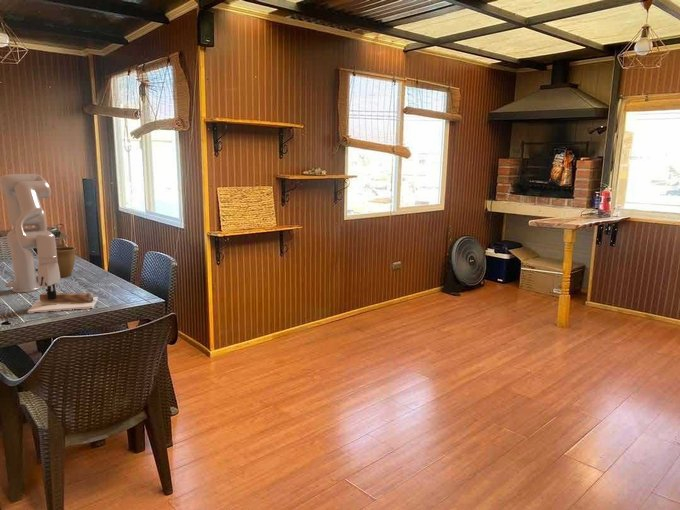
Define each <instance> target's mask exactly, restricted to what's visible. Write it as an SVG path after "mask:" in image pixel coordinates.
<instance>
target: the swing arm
mask: <svg viewBox="0 0 680 510" xmlns="http://www.w3.org/2000/svg"><path fill="white" fill-rule="evenodd" d="M56 297H57V298H56V299H54V300H49V299H48V296H47V292H43V293H41V294H39V301H93V297H94V294H93V292H87V293H86V292H85V293H84V292H83V293H82V292H76V293H75V292H70V293H69V292H67V293H66V292H56Z"/></svg>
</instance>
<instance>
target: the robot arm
mask: <svg viewBox="0 0 680 510" xmlns="http://www.w3.org/2000/svg"><path fill="white" fill-rule="evenodd" d="M0 189H1V191H2V193H3V196H4V197H5V199H6V208H7V217H8V222H9V225H10V226H12V227H14V229H12V230H10V231H9V232H8V233H7V234H6V239H7V243H8V245H9V249H10V255H11V261H12V269H13V279H14V281H12V282H5V287H6V288H12V289H11V291H12V292H13V293H31V292H35V291H39V290H40V289H41V290H45V291H46V293H47V296H48V299H49V300H54V299H56V298H57V297H56V293H57V286H58V285H59V284H60V282H61V277H60V271H59V266H58V260H57V251H56V248H57V243H56V236H55V234H54V233H52V232H51V231H49V230H48V227H47V219H46V218H47V216H46V213H45V211H44V209H43V208H42V205H41V201H40V199H49V198H50V197H51V196H52V195H51V194H52V189H51V187H50V184H49V183H48V181H47V180H46V179H45V178H44V177H43V176H42V175H40V174H38V173H12V174H11V173H10V174H4V175H1V177H0ZM32 226H34V227H32ZM24 227H29V228H24ZM30 249H32V250H33V249H36V250H37V251H36V252H37V260H38V261H37V262H38V265H37V270H36V265H35V264H36V263H35V256H34V254H33V253H32V251H30ZM36 271H37V272H36ZM37 280H38V281H37Z"/></svg>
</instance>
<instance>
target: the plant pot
mask: <svg viewBox="0 0 680 510" xmlns="http://www.w3.org/2000/svg"><path fill="white" fill-rule="evenodd" d="M76 250H77V247H75V246H61V247H60V246H59V247H57V246H56V251H57V260H58V266H59V271H60V278H68V276H69V277H71V276H72V272H73V270H74V266H75V261H76Z"/></svg>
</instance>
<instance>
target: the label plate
mask: <svg viewBox="0 0 680 510" xmlns="http://www.w3.org/2000/svg"><path fill="white" fill-rule="evenodd" d="M98 299H99V298H98V296H93V301H40V300H36V301H35V302H34V303H33V304H32V305H31V306H30V308H29V309H28V310H27V314H28V313H29V314H35V313H34V312H43V313H48V312H47V311H56V312H62V311H61V310H69V311H75V310H74V309H82V310H91V309H90V308H93V309H94V307H95V306H96V303H97V301H98ZM72 309H73V310H72Z"/></svg>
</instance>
